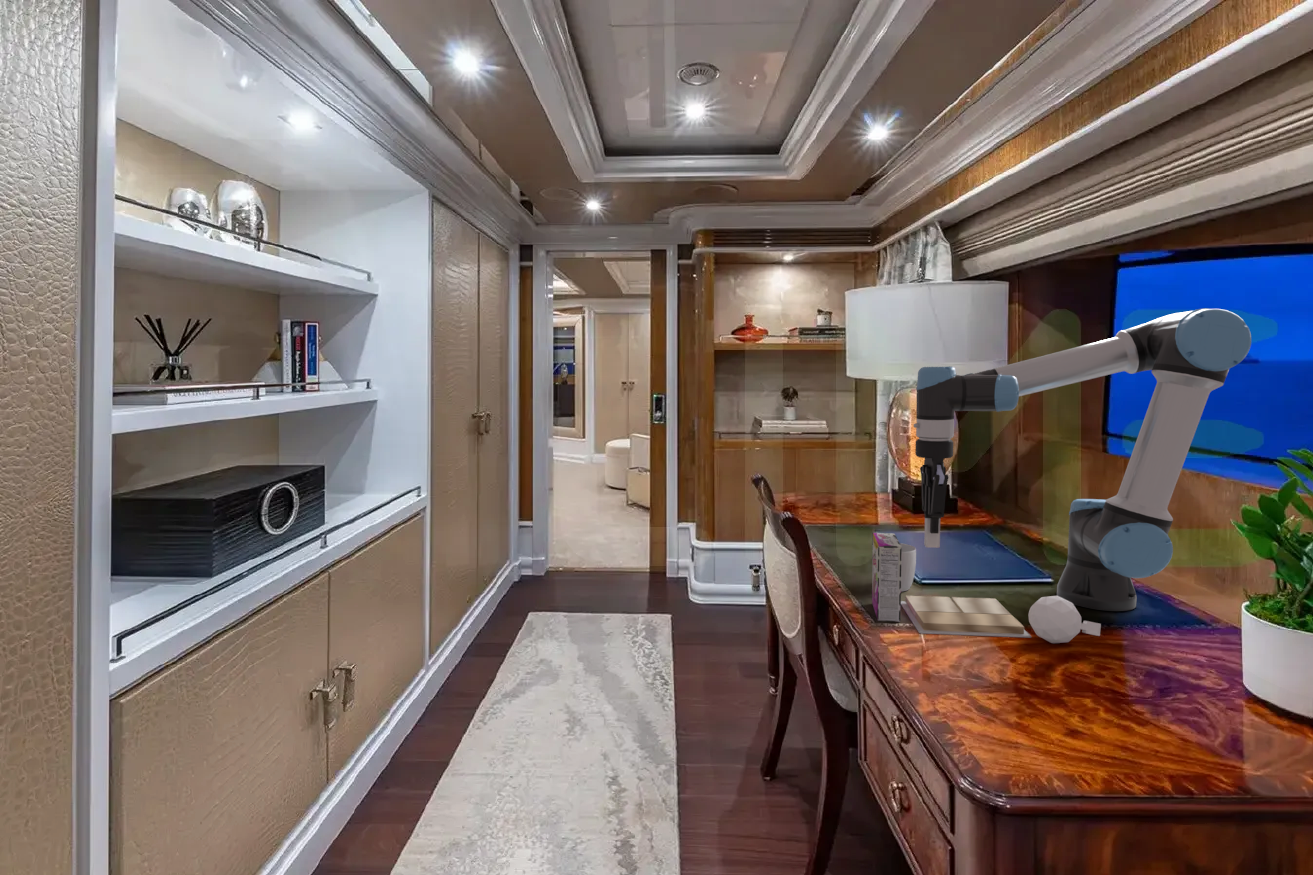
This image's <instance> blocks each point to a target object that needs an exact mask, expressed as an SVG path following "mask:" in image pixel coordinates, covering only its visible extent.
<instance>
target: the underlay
mask: <svg viewBox="0 0 1313 875" xmlns="http://www.w3.org/2000/svg"><path fill="white" fill-rule="evenodd" d="M901 608H902V609H903V610H904V612H905V613H906V614H907V616H908V618H909V619H910V621H911V622H912V624H913V625H914V627H915V629H916V630H917V632H918V633H919V634H926V635H927V634H930V635H953V636H975V637H976V636H977V637H978V636H980V637H981V636H982V637H1003V638H1004V637H1005V638H1008V637H1009V638H1030V639H1031V638H1032V635H1031V633H1029V632H1028V631H1026V630H1025V629H1024V634H1011V633H985V632H958V631H932V630H923V629H922V627H921V626H920V624H919V623H918V621H917V620H916V618H915V616H914V615H913V613H912V612H911V610H910V608H909V607H908V605H907V604H906V602H905V601H903V600H901Z"/></svg>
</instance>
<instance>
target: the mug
mask: <svg viewBox="0 0 1313 875" xmlns="http://www.w3.org/2000/svg"><path fill="white" fill-rule="evenodd" d="M899 543H900V542H899ZM900 545H901V547H902V554H901V593H903V592H907V591H908V590H910V588H911V586H912V584H913V583H914V579H915V578H914V577H915V575H916V574H915V573H916V566H917V548H916V547H915V546H914V545H910V544H907V543H900Z"/></svg>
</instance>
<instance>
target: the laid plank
mask: <svg viewBox="0 0 1313 875" xmlns="http://www.w3.org/2000/svg"><path fill="white" fill-rule="evenodd" d="M915 618H916V620H917V621H918V623H919V624H920V626H921V627H922V629H923V630H932V631H958V632H985V633H1011V634H1024V630H1025V626H1024V625H1023V624H1022V623H1021V622H1020V621H1019V620H1018V619H1017V618H1016V617H1014V616H1013V615H1012V614H1011V615H1004V614H975V613H946V612H917V611H916V615H915Z"/></svg>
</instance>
